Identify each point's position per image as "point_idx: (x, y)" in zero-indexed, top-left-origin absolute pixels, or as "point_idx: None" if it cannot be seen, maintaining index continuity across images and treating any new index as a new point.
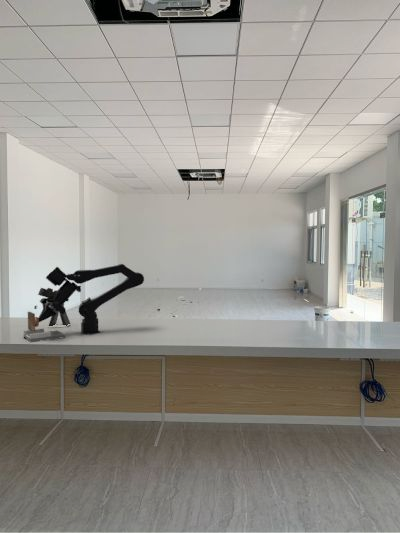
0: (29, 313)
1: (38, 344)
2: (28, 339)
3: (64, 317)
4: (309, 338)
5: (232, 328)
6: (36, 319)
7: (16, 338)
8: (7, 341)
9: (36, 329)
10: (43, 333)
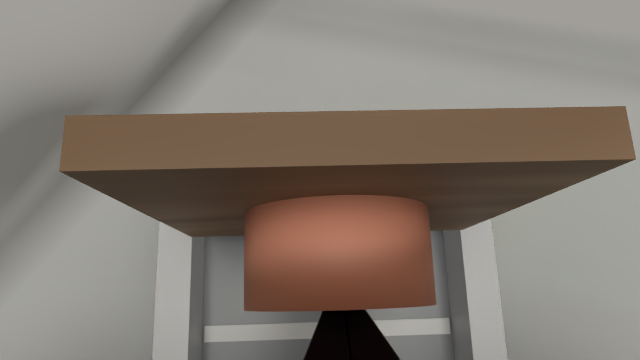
0: (419, 118)
1: (6, 231)
2: None
3: None
4: None
5: None
6: (258, 268)
7: None
8: (363, 20)
9: (470, 319)
10: (154, 340)
